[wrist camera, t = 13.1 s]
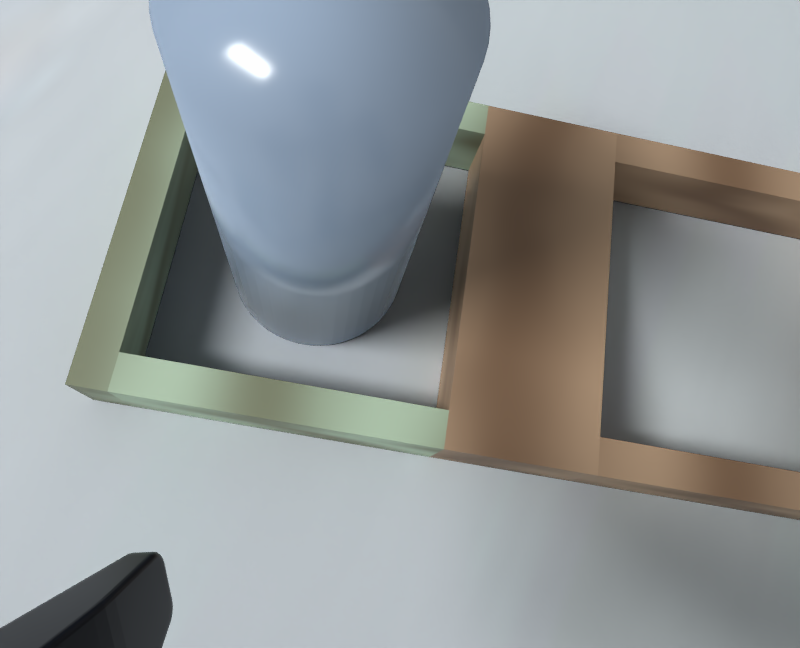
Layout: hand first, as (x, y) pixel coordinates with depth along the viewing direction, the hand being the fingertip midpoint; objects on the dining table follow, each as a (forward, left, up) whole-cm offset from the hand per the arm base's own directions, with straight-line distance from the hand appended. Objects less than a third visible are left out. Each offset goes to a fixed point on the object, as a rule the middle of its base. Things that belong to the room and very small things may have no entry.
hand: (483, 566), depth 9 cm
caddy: (+9, +4, -13) cm, 16 cm away
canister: (+3, +9, -13) cm, 16 cm away
